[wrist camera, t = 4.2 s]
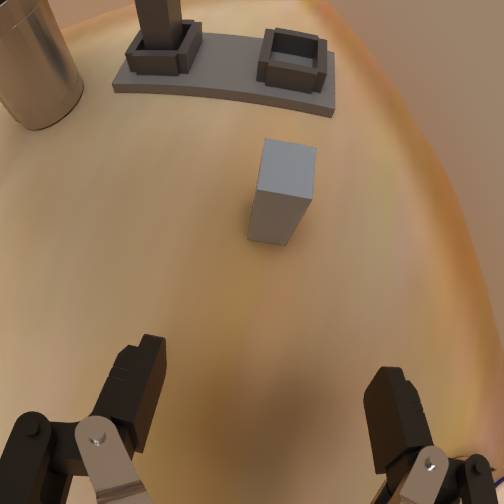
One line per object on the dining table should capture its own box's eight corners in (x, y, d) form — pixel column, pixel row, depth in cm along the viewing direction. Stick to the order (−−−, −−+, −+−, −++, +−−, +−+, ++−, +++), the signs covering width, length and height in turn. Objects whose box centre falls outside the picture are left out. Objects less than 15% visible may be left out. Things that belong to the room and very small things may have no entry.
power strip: (115, 92, 31) (88, 19, 20) (144, 40, 33) (131, -27, 23) (331, 117, 31) (364, 41, 21) (331, 60, 34) (355, -8, 23)
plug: (247, 239, 27) (256, 189, 18) (253, 200, 28) (265, 138, 19) (285, 245, 27) (312, 199, 18) (289, 206, 28) (316, 147, 19)
